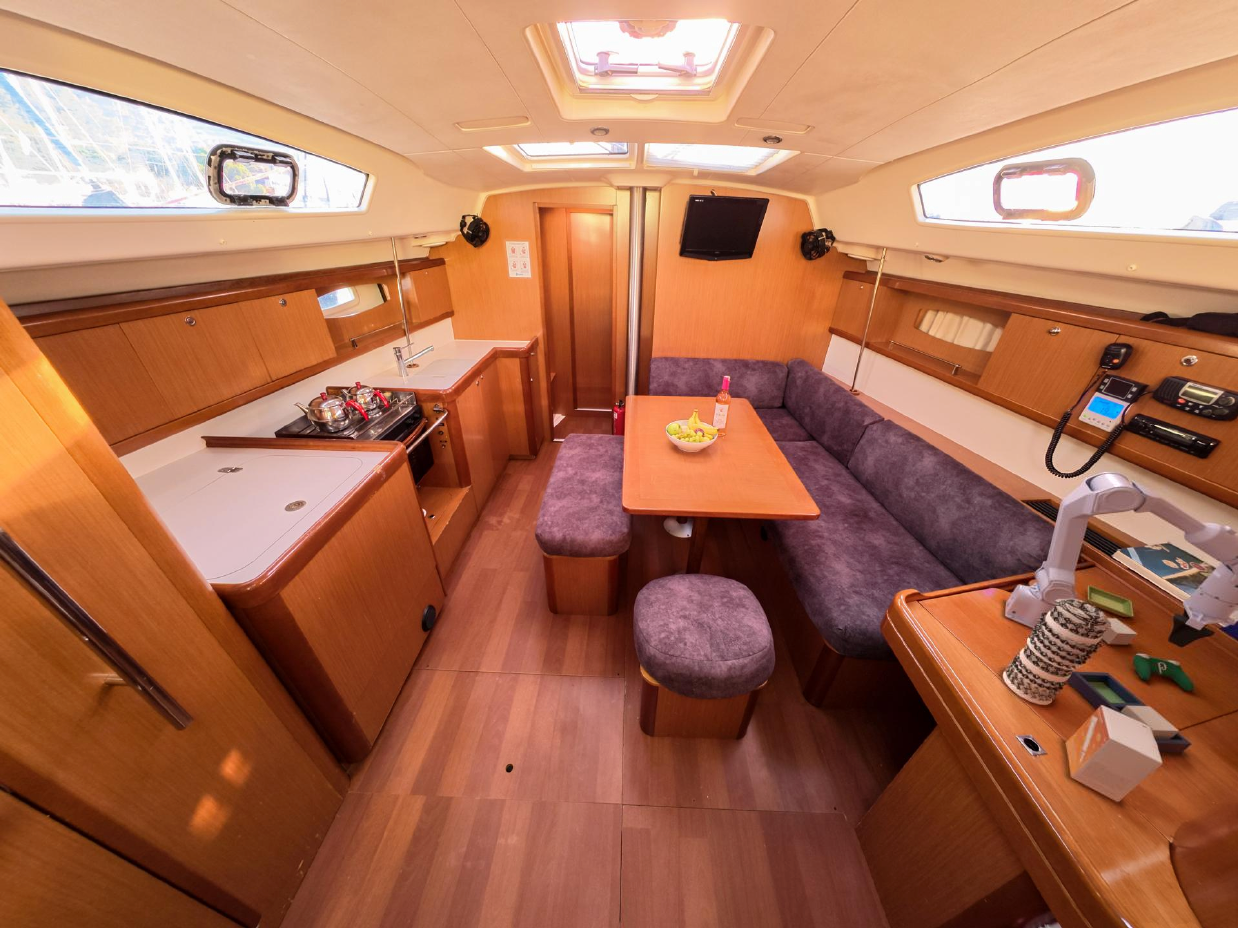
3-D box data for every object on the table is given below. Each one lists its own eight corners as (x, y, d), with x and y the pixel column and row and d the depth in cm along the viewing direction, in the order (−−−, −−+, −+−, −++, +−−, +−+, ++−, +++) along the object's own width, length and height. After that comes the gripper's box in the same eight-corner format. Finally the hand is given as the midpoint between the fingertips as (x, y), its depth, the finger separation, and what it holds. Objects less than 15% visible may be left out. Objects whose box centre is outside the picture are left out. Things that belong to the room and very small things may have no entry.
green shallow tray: (1083, 604, 115) (1087, 598, 114) (1084, 589, 121) (1088, 584, 120) (1129, 622, 110) (1133, 616, 109) (1127, 606, 115) (1131, 600, 114)
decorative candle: (1031, 709, 87) (1096, 629, 76) (990, 671, 95) (1043, 593, 84) (1065, 703, 88) (1134, 624, 77) (1022, 666, 96) (1078, 589, 85)
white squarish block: (1108, 644, 103) (1117, 633, 101) (1088, 628, 107) (1097, 617, 106) (1128, 644, 103) (1137, 633, 101) (1107, 628, 107) (1115, 618, 106)
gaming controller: (1179, 689, 94) (1175, 662, 96) (1197, 692, 90) (1192, 664, 92) (1128, 677, 96) (1125, 650, 98) (1144, 679, 93) (1140, 652, 95)
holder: (1141, 751, 80) (1151, 742, 78) (1065, 679, 93) (1072, 671, 92) (1182, 752, 80) (1192, 743, 78) (1100, 680, 93) (1107, 672, 92)
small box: (1063, 742, 81) (1100, 703, 75) (1109, 765, 77) (1151, 726, 71) (1069, 777, 75) (1109, 737, 69) (1119, 803, 72) (1165, 764, 66)
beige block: (1142, 741, 81) (1154, 730, 79) (1115, 716, 85) (1126, 705, 83) (1166, 742, 81) (1179, 730, 79) (1138, 717, 85) (1150, 706, 83)
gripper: (1244, 619, 81) (1199, 663, 88) (1257, 595, 88) (1214, 638, 94) (1189, 596, 87) (1150, 639, 93) (1205, 575, 93) (1168, 617, 99)
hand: (1179, 637), depth 94 cm, fingers open, 7 cm apart
